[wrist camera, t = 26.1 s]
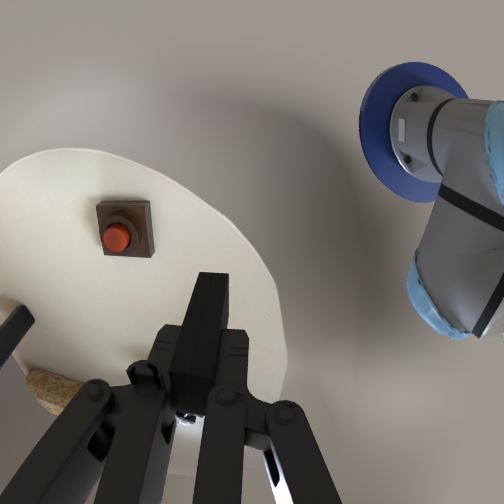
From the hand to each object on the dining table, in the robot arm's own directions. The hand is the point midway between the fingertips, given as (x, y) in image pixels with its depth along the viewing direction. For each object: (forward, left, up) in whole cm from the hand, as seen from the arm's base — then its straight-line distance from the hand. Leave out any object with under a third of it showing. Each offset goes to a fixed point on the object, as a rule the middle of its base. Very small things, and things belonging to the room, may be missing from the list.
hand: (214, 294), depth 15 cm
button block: (+19, +9, -29) cm, 36 cm away
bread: (+53, +64, -30) cm, 88 cm away
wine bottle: (+56, +34, -30) cm, 72 cm away
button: (+19, +9, -26) cm, 33 cm away
